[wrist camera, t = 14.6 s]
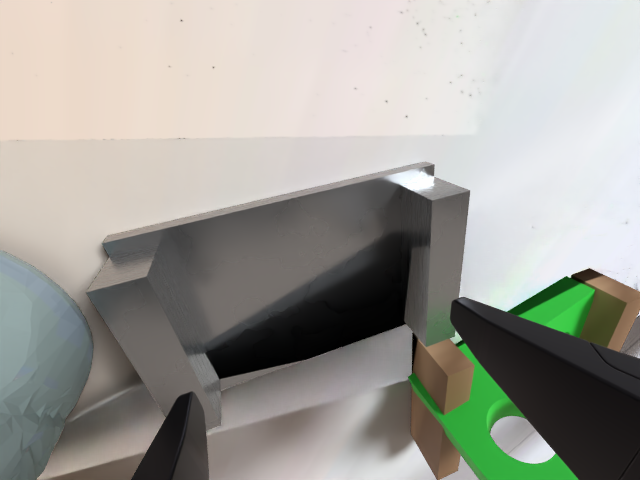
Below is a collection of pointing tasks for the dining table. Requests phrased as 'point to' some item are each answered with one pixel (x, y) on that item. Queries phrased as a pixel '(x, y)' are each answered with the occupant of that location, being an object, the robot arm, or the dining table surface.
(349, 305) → the u-shaped bracket
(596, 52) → the dining table surface
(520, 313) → the mechanical part
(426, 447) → the beam rails
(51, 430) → the teal tapered tumbler
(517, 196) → the dining table surface
